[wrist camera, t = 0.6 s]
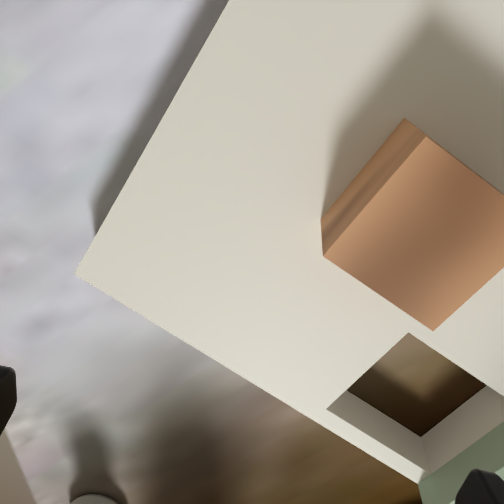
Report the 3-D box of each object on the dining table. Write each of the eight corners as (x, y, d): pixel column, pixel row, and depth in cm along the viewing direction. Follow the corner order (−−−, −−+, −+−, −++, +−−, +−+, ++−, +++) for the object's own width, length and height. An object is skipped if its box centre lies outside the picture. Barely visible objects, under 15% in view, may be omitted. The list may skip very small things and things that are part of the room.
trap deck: (843, 132, 18) (1001, 161, 14) (421, 454, 27) (441, 527, 23) (404, -282, 14) (442, -408, 10) (96, 251, 24) (52, 295, 20)
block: (504, 194, 18) (546, 228, 15) (413, 284, 20) (433, 331, 17) (404, 117, 17) (426, 136, 14) (320, 219, 19) (322, 256, 16)
